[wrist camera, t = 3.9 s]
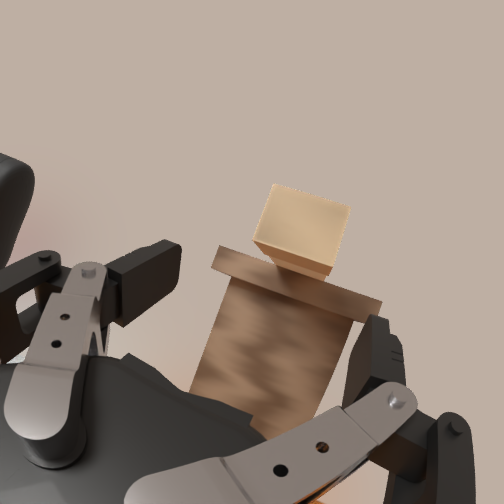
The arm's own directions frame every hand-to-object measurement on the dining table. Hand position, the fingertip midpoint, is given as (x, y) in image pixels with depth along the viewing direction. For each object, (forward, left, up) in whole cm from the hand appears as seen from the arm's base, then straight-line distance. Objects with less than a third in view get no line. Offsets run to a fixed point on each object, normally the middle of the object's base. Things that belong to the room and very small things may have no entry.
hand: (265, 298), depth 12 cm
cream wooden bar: (0, +15, +3) cm, 15 cm away
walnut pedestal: (0, +18, -29) cm, 34 cm away
